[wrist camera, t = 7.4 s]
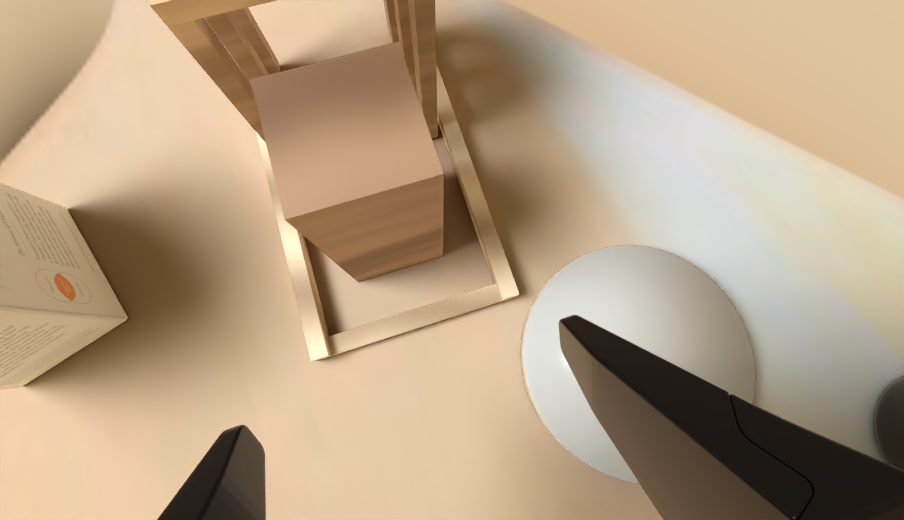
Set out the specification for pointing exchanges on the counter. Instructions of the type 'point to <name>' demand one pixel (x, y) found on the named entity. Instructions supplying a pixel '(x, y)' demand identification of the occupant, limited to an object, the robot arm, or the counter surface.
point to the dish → (629, 337)
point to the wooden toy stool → (227, 13)
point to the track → (373, 332)
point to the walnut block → (355, 160)
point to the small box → (46, 289)
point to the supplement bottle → (891, 424)
